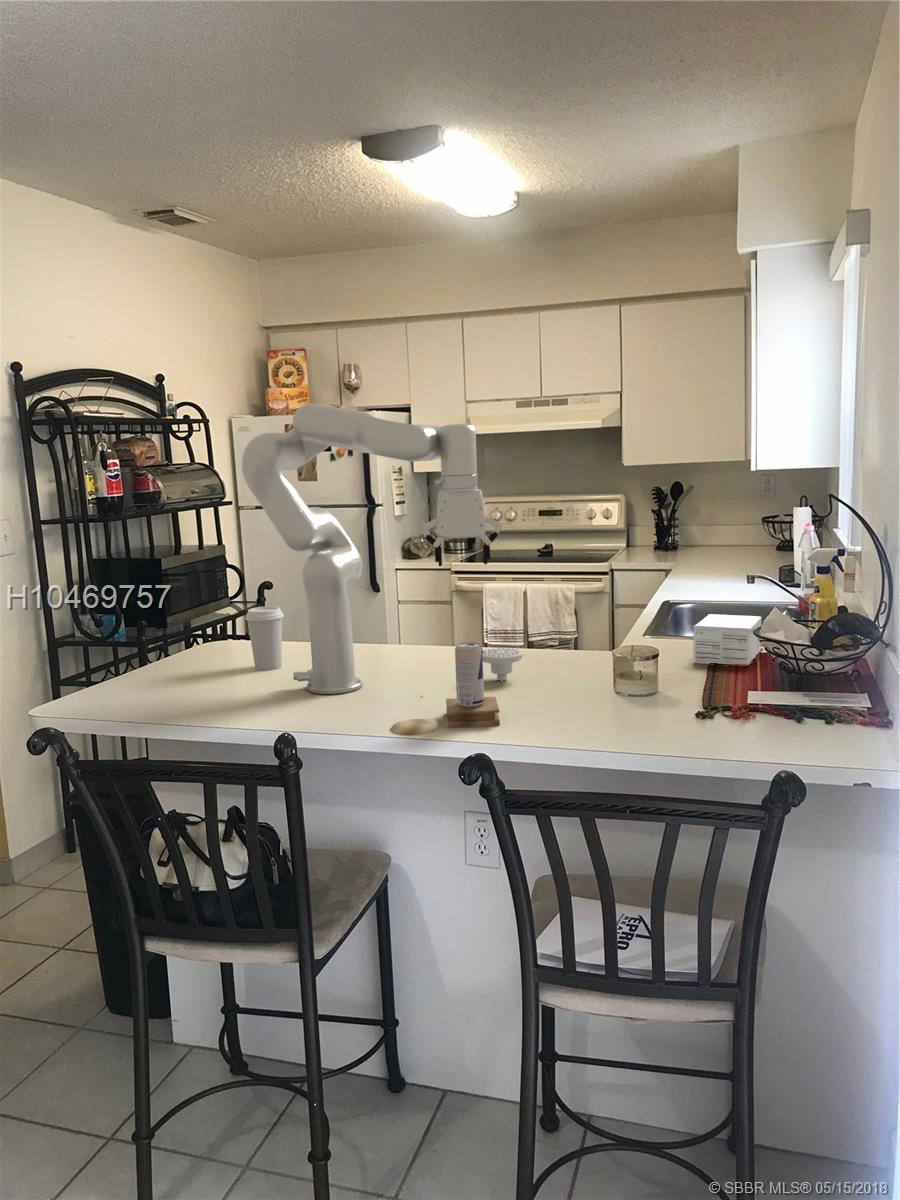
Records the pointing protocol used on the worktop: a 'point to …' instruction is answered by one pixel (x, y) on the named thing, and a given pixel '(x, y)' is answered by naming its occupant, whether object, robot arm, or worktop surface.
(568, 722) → the worktop surface
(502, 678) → the showerhead
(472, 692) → the energy drink
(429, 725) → the cork coaster
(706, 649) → the supplement box
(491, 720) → the walnut stand
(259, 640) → the coffee cup
